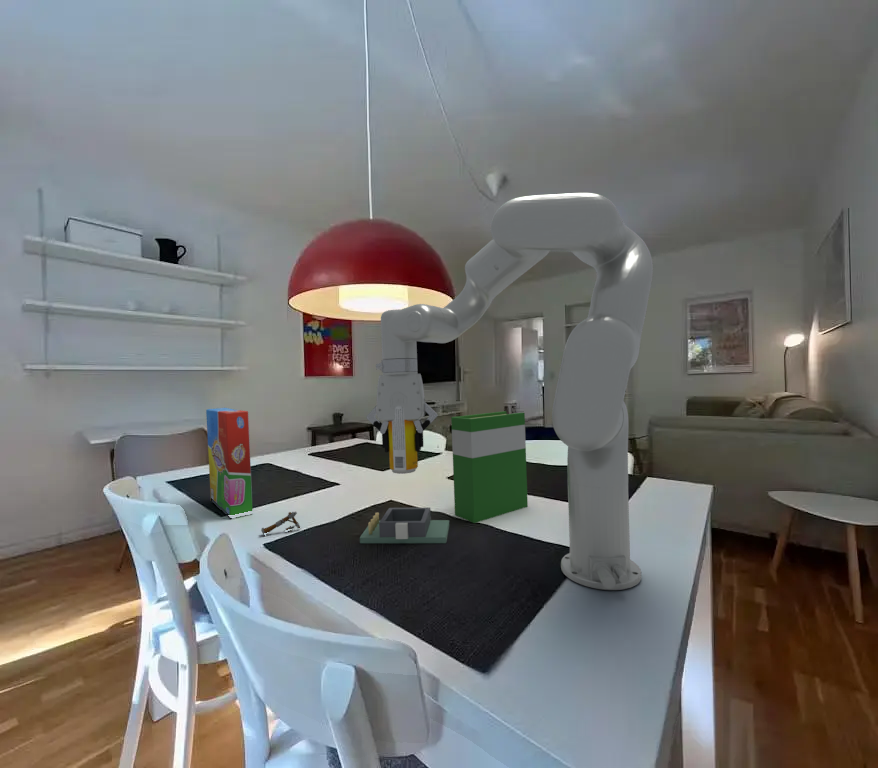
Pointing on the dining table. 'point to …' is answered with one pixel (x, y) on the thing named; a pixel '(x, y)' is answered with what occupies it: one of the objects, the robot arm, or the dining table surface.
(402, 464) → the beer can
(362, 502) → the dining table surface
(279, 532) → the dining table surface
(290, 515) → the wooden post with brackets
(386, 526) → the header board
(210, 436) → the game box
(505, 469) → the green cereal box
